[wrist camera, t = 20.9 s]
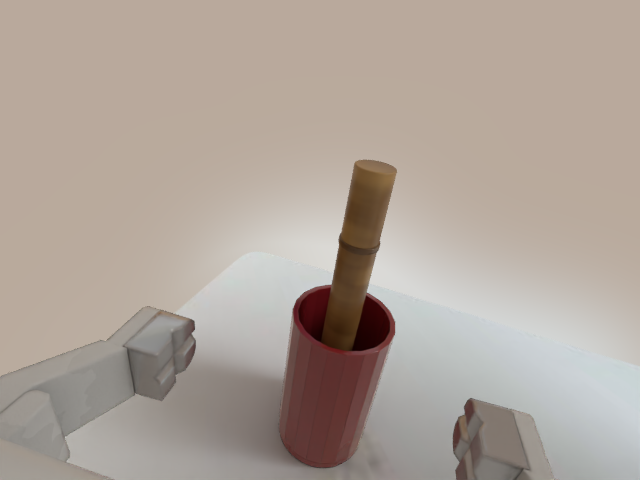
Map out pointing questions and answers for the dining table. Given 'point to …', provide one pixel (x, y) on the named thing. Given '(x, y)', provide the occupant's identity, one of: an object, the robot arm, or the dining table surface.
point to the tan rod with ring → (357, 250)
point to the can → (331, 380)
